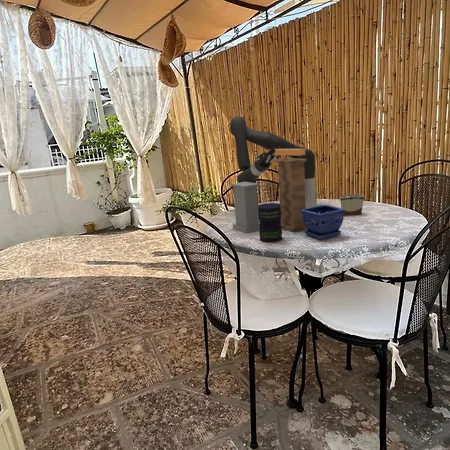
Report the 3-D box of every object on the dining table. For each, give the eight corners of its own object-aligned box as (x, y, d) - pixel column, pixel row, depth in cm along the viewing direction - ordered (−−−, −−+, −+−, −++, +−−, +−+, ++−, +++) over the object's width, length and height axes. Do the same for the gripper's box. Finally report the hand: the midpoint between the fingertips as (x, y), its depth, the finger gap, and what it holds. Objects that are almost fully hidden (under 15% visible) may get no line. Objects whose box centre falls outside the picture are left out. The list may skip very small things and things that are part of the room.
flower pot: (320, 242, 146) (319, 214, 143) (300, 235, 158) (300, 208, 155) (345, 236, 151) (345, 208, 148) (325, 229, 163) (324, 204, 160)
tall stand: (277, 227, 173) (273, 160, 165) (293, 223, 177) (290, 158, 169) (293, 232, 163) (290, 161, 155) (310, 227, 167) (308, 158, 159)
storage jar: (279, 242, 150) (278, 208, 146) (257, 242, 153) (254, 208, 150) (284, 235, 159) (282, 202, 155) (262, 235, 162) (260, 203, 159)
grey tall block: (232, 228, 178) (229, 184, 173) (249, 224, 183) (246, 181, 177) (245, 233, 168) (242, 186, 163) (263, 228, 173) (260, 183, 167)
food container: (361, 212, 187) (361, 193, 184) (364, 215, 181) (364, 195, 178) (337, 213, 188) (336, 195, 186) (339, 216, 182) (339, 197, 180)
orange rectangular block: (269, 154, 173) (269, 149, 172) (274, 154, 174) (274, 148, 173) (299, 155, 154) (299, 149, 153) (305, 154, 155) (305, 148, 155)
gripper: (246, 161, 181) (262, 143, 166) (268, 157, 188) (286, 140, 173) (251, 174, 180) (268, 157, 165) (274, 170, 186) (291, 153, 171)
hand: (277, 148), depth 169 cm, fingers closed on orange rectangular block, 3 cm apart
